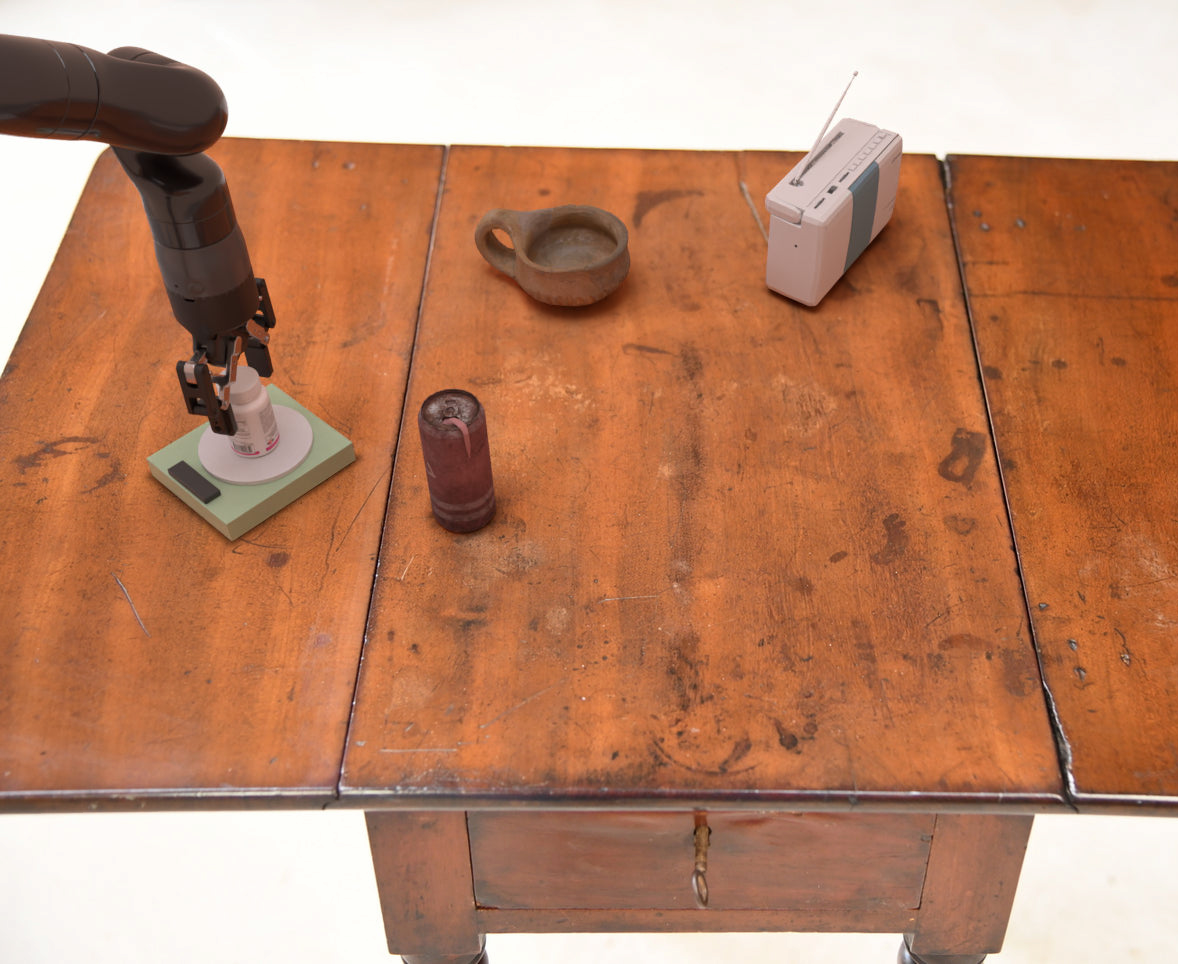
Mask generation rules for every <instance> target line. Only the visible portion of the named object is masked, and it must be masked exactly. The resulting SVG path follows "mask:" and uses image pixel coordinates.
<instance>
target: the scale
mask: <svg viewBox="0 0 1178 964" xmlns="http://www.w3.org/2000/svg"><path fill="white" fill-rule="evenodd" d="M264 387H265V388H266V389H267V392H268V394H269V398H270V401H271V405H272V409H273V412H274V416H275V419H276V423H277V427H278V431H279V442H278V444H277V446H276V447H275V448H274V449H273V450H272V451H271V452H269V453H267V454H265V455H263V456H259V457H254V458H247V457H242V456H240V455H238V454H236V453H235V452H234V451H233V450H232V448H231V445H230V443H229V439H228V436H227V435H221V434H217V433H214V432H213V431H212V429H211V426H210V423H209V420H208V421H205V422H204V423H202V424H201V425H199V426H197V427H195V428H194V429H193V430H191V431H189V432H187V433H186V434H184V435H182V436H181V437H178V439H176V440H174V441H172V442H171V443H169V444H167V445H166V446H164V447H162V448H161V449H159V450H158V451H155V452H154V453H152V454H151V455H149V456H148V457H146V458H145V459H146V462H147V464H148V467H149V470H150V472H151V475H152V477H154V479H156V480H157V481H158V482H159V483H161V484H162V485H163V486H164V487H166V488H167V489H168V490H169V491H170V492H172V494H174V495H175V496H176V497H178V498H179V499H180V500H181V501H182V502H183V503H185V504H186V505H187V506H188V507H189V508H191V509H192V510H193V511H194V512H196V513H197V514H198V515H199V516H200V517H202V518H203V519H204V520H205V521H206V522H207V523H209V524H210V525H211V526H212V527H213V528H215V529H216V530H217V531H219V532H220V533H221V534H222V535H224V536H225V537H226V538H227V539H228V540H229V541H230V542H234V541H236V540H237V539H239V538H240V537H241V536H243V535H244V534H246V533H248V532H250V530H252V529H254V528H255V527H256V526H258V525H259V524H261V523H262V522H264V521H265V520H268V519H269V518H270V517H272V516H273V515H275V514H276V513H278V512H280V510H282V509H284V508H285V507H287V506H288V505H290V504H291V503H293V502H294V501H297V499H299V498H301V497H302V496H304V495H305V494H307V493H308V492H309V491H311V490H312V489H314V488H315V487H317V486H319V485H320V484H322V483H323V482H324V481H326V480H328V479H329V478H331V477H332V476H334V475H335V474H337V473H338V472H339V471H341V470H343V469H344V468H346V467H348V466H349V465H350V464H352V463H353V462H355V461H356V460H357V458H356V457H357V456H356V452H355V448H354V443H353V442H352V441H351V439H349V438H347V437H346V436H345V435H343V434H342V433H341V432H339V431H338V430H337V429H335V428H333V427H332V426H331V425H330V424H328V423H327V422H326V421H324V420H323V419H321V418H320V417H319V416H317V415H316V414H315V413H313V412H312V411H310V410H309V409H308V408H306V407H305V406H304V405H302V404H301V403H299V402H298V401H297V400H296V399H294V398H293V397H291V396H290V395H289V394H288V393H286V392H285V391H283V390H282V389H281V388H279V387H278V386H277V385H275V384H274V383H273V382H271V383H269V384H268V385H266V386H264Z"/></svg>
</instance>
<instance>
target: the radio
mask: <svg viewBox="0 0 1178 964" xmlns="http://www.w3.org/2000/svg"><path fill="white" fill-rule="evenodd" d="M858 74H859V71H858V70H854V72H853V73H852V75H853V76H852V78H851V80H850V81H849V83H848V85H847V86H846V88H845V90H844V91H843V92H842V94H841V96H840V98H839V100H838V101H837V102H836V104H835V106H834V108H833V110H832V111H831V113H830V115H829V116H828V118H827V120H826V122H825V123H824V125H823V127H822V129H821V131H820V133H819V134H818V136H817V138H816V139H815V141H814V143H813V145H812V147H811V148H810V150H809V151H808V153H807V154H806V155H805V156H804V157H803V158H802V159H800V161H799V162H798V163H797V164H796V165H795V166H794V167H793V168H792V169H790V171H789V172H788V173H787V174H786V175H785V176H784V177H783V178H782V179H781V180H780V181H778V183H777V184H776V185H775V186H773V188H772V189H771V190H770V191H769V192H768V193H767V194H766V195H765V199H764V205H765V209H766V211H767V213H769V214H770V216H769V229H768V243H767V255H766V257H767V258H766V268H765V286H766V287H767V289H769V290H772V291H773V292H775V293H777V294H780V295H782V296H784V297H787V298H789V299H791V300H794V301H796V302H798V303H801V304H803V305H804V306H807V307H815V306H817V305H818V304H819V303H820V302H821V301H822V299H824V297H825V296H826V295H827V293H828V292H829V291H830V290H831V289H832V288H833V286H834V285H836V283H837V282H838V281H839V279H841V277H842V276H843V275H844V274H845V273H846V271H848V269H849V268H850V267H851V266H852V265H853V264H854V262H855V261H856V260H857V259H858V258H859V257H860V256H861V254H862V253H863V252H864V251H865V250H866V248H867V247H868V246H869V245H870V244H871V243H872V242H873V240H874V239H875V238H876V237H877V236H878V235H879V234H880V232H881V231H882V230H883V229H884V227H886V225H888V223H889V222H890V220H891V219H892V216H893V212H894V208H895V203H896V198H897V194H898V188H899V187H898V186H899V179H900V173H901V166H902V158H903V157H902V156H903V147H904V145H903V144H904V143H903V142H904V141H903V137H902V136H901V135H900V134H899V133H897V132H895V131H891V130H888V129H886V128H882V129H881V128H880V127H878V126H877V125H876V124H872V123H869V122H866V121H862V120H858V119H855V118H851V117H847V118H846V117H845V118H844V117H843V118H841V119H840V120H839V122H838V123H836V124H835V126H834V127H832V128H831V129H830V130H829V131H828V133H827V134H826V131H827V130H828V128H829V127H830V124H831V123H832V121H833V119H834V117H835V115H836V113H837V111H838V109H839V108H840V106H841V103H842V101H843V100H844V98H845V96H846V94H847V92H848V90H849V89H850V87H851V86H852V82H853V80H854V79H855V77H857V76H858ZM825 134H826V135H825Z"/></svg>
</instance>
